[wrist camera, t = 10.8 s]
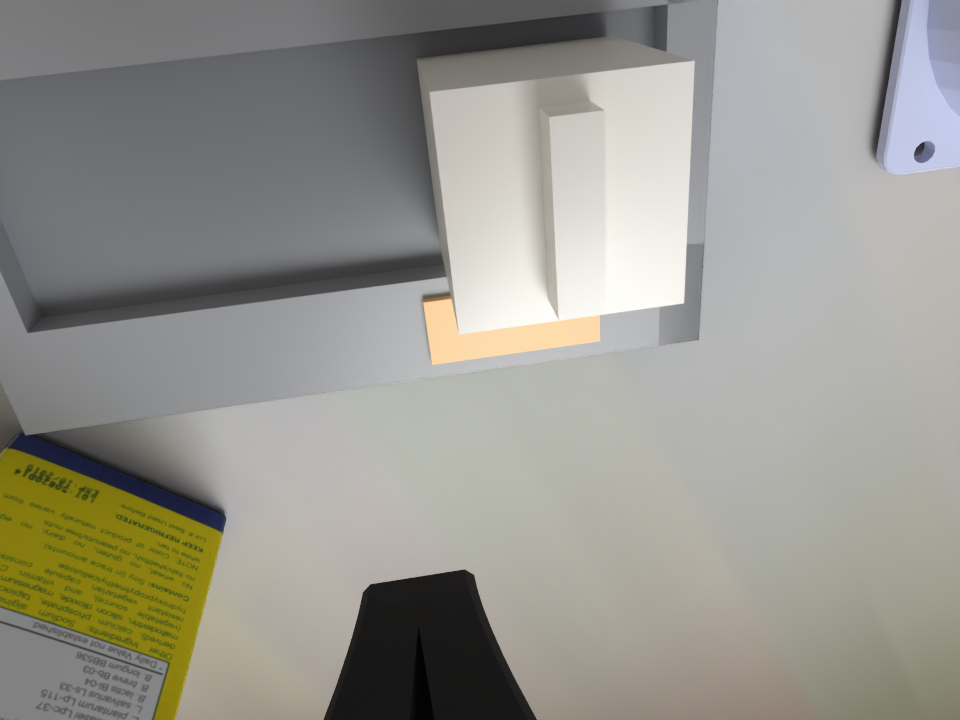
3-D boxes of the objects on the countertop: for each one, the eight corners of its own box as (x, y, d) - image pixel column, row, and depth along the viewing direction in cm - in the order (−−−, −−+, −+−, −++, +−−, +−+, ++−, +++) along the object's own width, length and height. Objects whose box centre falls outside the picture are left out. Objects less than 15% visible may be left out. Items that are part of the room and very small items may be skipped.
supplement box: (-59, 573, 21) (-427, 1085, 11) (20, 423, 19) (-343, 886, 9) (143, 642, 23) (-24, 1121, 14) (233, 513, 21) (113, 965, 12)
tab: (613, 35, 15) (716, 67, 10) (614, 225, 17) (701, 322, 12) (416, 58, 15) (432, 100, 10) (440, 248, 17) (463, 356, 12)
